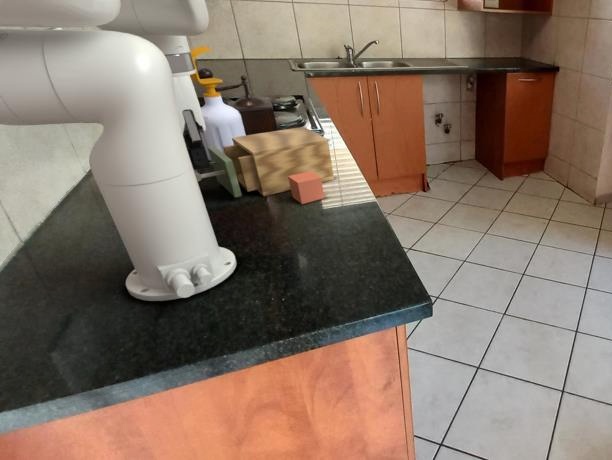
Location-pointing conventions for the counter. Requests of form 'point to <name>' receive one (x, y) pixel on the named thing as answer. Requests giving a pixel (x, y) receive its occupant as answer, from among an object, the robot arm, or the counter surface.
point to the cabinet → (286, 157)
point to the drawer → (232, 169)
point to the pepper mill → (249, 107)
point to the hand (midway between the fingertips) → (199, 167)
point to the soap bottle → (216, 113)
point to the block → (306, 187)
